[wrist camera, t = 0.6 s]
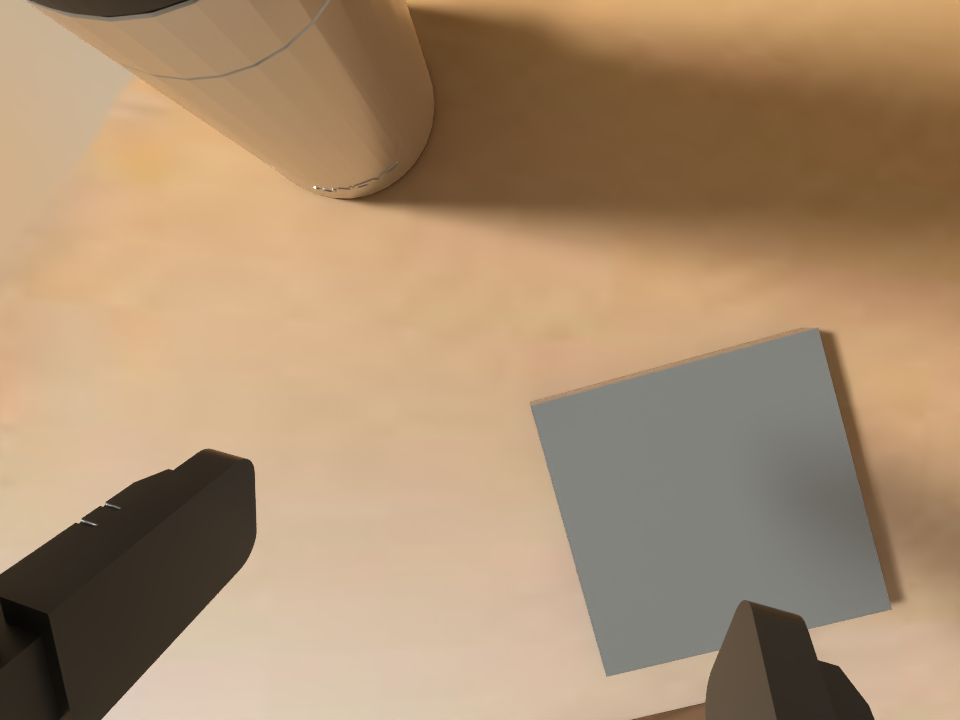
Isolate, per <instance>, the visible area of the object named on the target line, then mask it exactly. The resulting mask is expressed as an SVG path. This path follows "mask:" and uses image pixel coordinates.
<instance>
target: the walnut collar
mask: <svg viewBox="0 0 960 720" xmlns="http://www.w3.org/2000/svg"><path fill="white" fill-rule="evenodd" d="M705 705H706V703H703V704H699V705H694V706H690V707H686V708H681V709H677V710H673V711H668V712H664V713H660V714H655V715H651V716H647V717H642V718H638V719H634V720H706V716H705Z"/></svg>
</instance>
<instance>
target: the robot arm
mask: <svg viewBox="0 0 960 720" xmlns="http://www.w3.org/2000/svg"><path fill="white" fill-rule="evenodd" d="M24 1H25V2H27V3H28V4H30V5H31V6H33V7H34V8H36V9H37V10H39V11H40V12H42V13H43V14H45V15H46V16H48V17H49V18H51V19H52V20H54V21H55V22H57V23H58V24H60V25H61V26H63V27H64V28H65V29H67V30H68V31H70V32H71V33H73V34H75V35H76V36H77V37H79V38H80V39H82V40H84V41H85V42H86V43H88V44H89V45H91V46H93V47H94V48H96V49H97V50H99V51H101V52H102V53H103V54H105V55H106V56H108V57H109V58H111V59H112V60H114V61H115V62H117V63H118V64H120V65H121V66H123V67H124V68H126V69H127V70H129V71H130V72H131V73H133V74H134V75H136V76H137V77H139V78H140V79H142V80H143V81H145V82H146V83H148V84H149V85H151V86H152V87H154V88H155V89H157V90H158V91H160V92H161V93H162V94H164V95H165V96H167V97H168V98H170V99H171V100H173V101H174V102H176V103H177V104H179V105H180V106H182V107H183V108H185V109H186V110H188V111H189V112H191V113H192V114H194V115H195V116H197V117H198V118H199V119H201V120H202V121H204V122H205V123H207V124H208V125H210V126H211V127H213V128H214V129H216V130H217V131H219V132H220V133H222V134H223V135H225V136H226V137H228V138H229V139H231V140H232V141H234V142H235V143H236V144H238V145H239V146H241V147H242V148H244V149H245V150H247V151H248V152H250V153H251V154H253V155H254V156H256V157H257V158H259V159H260V160H262V161H263V162H264V163H266V164H267V165H269V166H270V167H272V168H273V169H275V170H276V171H278V172H279V173H281V174H282V175H284V176H285V177H287V178H288V179H290V180H291V181H293V182H294V183H295V184H297V185H299V186H301V187H303V188H305V189H307V190H309V191H311V192H313V193H315V194H319V195H323V196H327V197H331V198H356V197H362V196H367V195H371V194H373V193H375V192H378V191H380V190H382V189H385V188H387V187H389V186H390V185H391V184H393V183H394V182H396V181H397V180H398V179H400V178H401V177H403V176H404V175H405V173H406V172H407V171H408V170H409V169H410V168H411V167H412V166H413V165H414V164H415V163H416V161H417V159H418V158H419V156H420V154H421V153H422V151H423V149H424V148H425V146H426V143H427V141H428V138H429V135H430V132H431V129H432V124H433V117H434V109H435V105H434V92H433V86H432V82H431V79H430V75H429V72H428V69H427V66H426V62H425V59H424V56H423V53H422V50H421V47H420V44H419V40H418V37H417V34H416V31H415V28H414V25H413V22H412V18H411V15H410V12H409V9H408V6H407V3H406V0H24ZM255 539H256V499H255V471H254V466H253V464H252V462H251V461H250V460H248V459H245V458H241V457H238V456H234V455H230V454H227V453H223V452H220V451H216V450H213V449H204V450H202V451H200V452H198V453H197V454H195V455H194V456H193V457H191V458H190V459H188V460H187V461H186V462H184V463H183V464H181V465H180V466H179V467H177V468H176V469H174V470H170V469H168V470H165V471H162V472H160V473H157V474H155V475H152V476H150V477H147V478H145V479H142V480H139V481H137V482H134V483H133V484H131V485H130V486H128V487H127V488H125V489H124V490H123V491H121V492H120V493H118V494H117V495H115V496H114V497H112V498H111V499H109V500H108V501H107V502H106V504H105V506H104V507H101V506H99V507H98V508H96V509H95V510H93V511H92V512H91V513H89V514H88V515H86V516H85V517H83V518H82V520H81V522H80V523H79V524H78V523H74V524H73V525H72V526H70V527H69V528H67V529H66V530H64V531H63V532H61V533H60V534H58V535H57V536H56V537H54V538H53V539H51V540H50V541H48V542H47V543H45V544H44V545H42V546H41V547H40V548H38V549H37V550H35V551H34V552H32V553H31V554H29V555H28V556H26V557H25V558H23V559H22V560H21V561H19V562H18V563H16V564H15V565H13V566H12V567H10V568H9V569H7V570H6V571H5V572H3V573H2V574H0V720H101V719H102V718H103V717H104V716H105V715H106V714H107V713H108V712H109V711H110V709H111V708H112V707H113V706H114V705H115V704H116V703H117V702H118V701H119V700H120V699H121V698H122V697H123V695H124V694H125V693H126V692H127V691H128V690H129V689H130V688H131V687H132V686H133V685H134V684H135V682H136V681H137V680H138V679H139V678H140V677H141V676H142V675H143V674H144V673H145V672H146V671H147V669H148V668H149V667H150V666H151V665H152V664H153V663H154V662H155V661H156V660H157V659H158V658H159V657H160V655H161V654H162V653H163V652H164V651H165V650H166V649H167V648H168V647H169V646H170V645H171V644H172V642H173V641H174V640H175V639H176V638H177V637H178V636H179V635H180V634H181V633H182V632H183V631H184V630H185V628H186V627H187V626H188V625H189V624H190V623H191V622H192V621H193V620H194V619H195V618H196V617H197V615H198V614H199V613H200V612H201V611H202V610H203V609H204V608H205V607H206V606H207V605H208V604H209V602H210V601H211V600H212V599H213V598H214V597H215V596H216V595H217V594H218V593H219V592H220V591H221V590H222V588H223V587H224V586H225V585H226V584H227V583H228V582H229V581H230V580H231V579H232V578H233V577H234V575H235V574H236V573H237V572H238V571H239V570H240V569H241V568H242V567H243V565H244V564H245V562H246V561H247V559H248V557H249V555H250V553H251V551H252V549H253V546H254V543H255ZM705 716H706V720H874V717H873V715H872V712H871V710H870V707H869V705H868V704H867V702H866V701H865V700H864V698H863V697H862V696H861V695H860V693H859V692H858V691H857V689H856V688H855V687H854V685H853V684H852V683H851V682H850V680H849V679H848V678H847V676H846V675H845V674H844V672H843V671H842V670H841V668H840V667H839V666H836V665H833V664H829V663H826V662H822V661H819V660H818V659H817V656H816V653H815V650H814V647H813V644H812V641H811V638H810V635H809V632H808V629H807V626H806V623H805V621H804V620H803V618H802V617H801V616H800V615H797V614H794V613H790V612H787V611H783V610H779V609H776V608H772V607H769V606H765V605H762V604H758V603H754V602H751V601H747V600H743V601H741V603H740V604H739V605H738V607H737V609H736V611H735V614H734V616H733V619H732V621H731V624H730V626H729V628H728V631H727V633H726V636H725V638H724V641H723V643H722V646H721V648H720V651H719V653H718V656H717V658H716V661H715V663H714V665H713V668H712V671H711V673H710V677H709V681H708V686H707V693H706V705H705Z"/></svg>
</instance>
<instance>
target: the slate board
mask: <svg viewBox="0 0 960 720" xmlns="http://www.w3.org/2000/svg"><path fill="white" fill-rule="evenodd" d="M530 405H531V409H532V412H533V416H534V419H535V423H536V426H537V430H538V434H539V437H540V441H541V444H542V448H543V451H544V455H545V459H546V462H547V466H548V469H549V473H550V476H551V480H552V484H553V487H554V491H555V494H556V498H557V501H558V505H559V509H560V512H561V516H562V519H563V523H564V526H565V530H566V533H567V537H568V541H569V544H570V548H571V551H572V555H573V558H574V562H575V566H576V569H577V573H578V576H579V580H580V583H581V587H582V591H583V594H584V598H585V601H586V605H587V608H588V612H589V616H590V619H591V623H592V626H593V630H594V633H595V637H596V641H597V644H598V648H599V651H600V655H601V658H602V662H603V666H604V669H605V673H606V676H612V675H616V674H620V673H624V672H629V671H633V670H637V669H641V668H646V667H650V666H654V665H658V664H663V663H667V662H671V661H675V660H679V659H684V658H688V657H692V656H696V655H701V654H705V653H709V652H713V651H718V650H720V648H721V646H722V643H723V641H724V638H725V636H726V633H727V631H728V628H729V626H730V624H731V621H732V619H733V616H734V614H735V611H736V609H737V607H738V605H739V604H740V603H741V601H743V600H747V601H751V602H754V603H758V604H762V605H765V606H769V607H772V608H776V609H779V610H783V611H787V612H790V613H794V614H797V615H800V616H801V617H802V618H803V620H804V621H805V623H806V626H807V629H811V628H815V627H819V626H823V625H828V624H832V623H836V622H840V621H845V620H849V619H853V618H857V617H862V616H866V615H870V614H874V613H879V612H883V611H887V610H891V609H892V608H891V604H890V600H889V597H888V593H887V589H886V585H885V581H884V577H883V574H882V570H881V566H880V562H879V558H878V555H877V551H876V547H875V543H874V539H873V535H872V532H871V528H870V524H869V520H868V516H867V512H866V509H865V505H864V501H863V497H862V493H861V490H860V486H859V482H858V478H857V474H856V470H855V467H854V463H853V459H852V455H851V451H850V448H849V444H848V440H847V436H846V432H845V428H844V425H843V421H842V417H841V413H840V409H839V405H838V402H837V398H836V394H835V390H834V386H833V383H832V379H831V375H830V371H829V367H828V363H827V360H826V356H825V352H824V348H823V344H822V341H821V337H820V333H819V329H818V328H800V329H796V330H793V331H789V332H785V333H782V334H778V335H774V336H771V337H767V338H763V339H760V340H756V341H752V342H749V343H745V344H741V345H738V346H734V347H730V348H727V349H723V350H719V351H716V352H712V353H708V354H705V355H701V356H697V357H694V358H690V359H686V360H683V361H679V362H675V363H672V364H668V365H664V366H661V367H657V368H653V369H650V370H646V371H642V372H639V373H635V374H631V375H628V376H624V377H620V378H617V379H613V380H609V381H606V382H602V383H598V384H595V385H591V386H587V387H584V388H580V389H576V390H573V391H569V392H565V393H562V394H558V395H554V396H551V397H547V398H543V399H540V400H536V401H532V402H530Z"/></svg>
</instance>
